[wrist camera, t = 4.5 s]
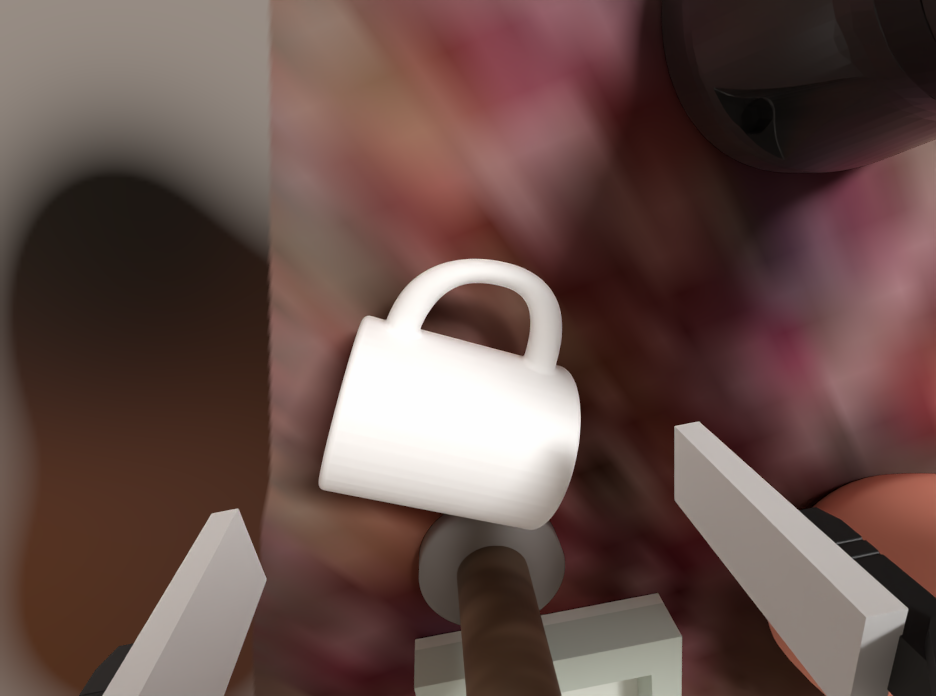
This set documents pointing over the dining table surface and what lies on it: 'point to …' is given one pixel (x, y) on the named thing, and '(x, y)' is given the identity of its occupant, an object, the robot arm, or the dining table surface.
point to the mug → (457, 409)
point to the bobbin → (495, 600)
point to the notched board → (580, 652)
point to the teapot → (888, 526)
